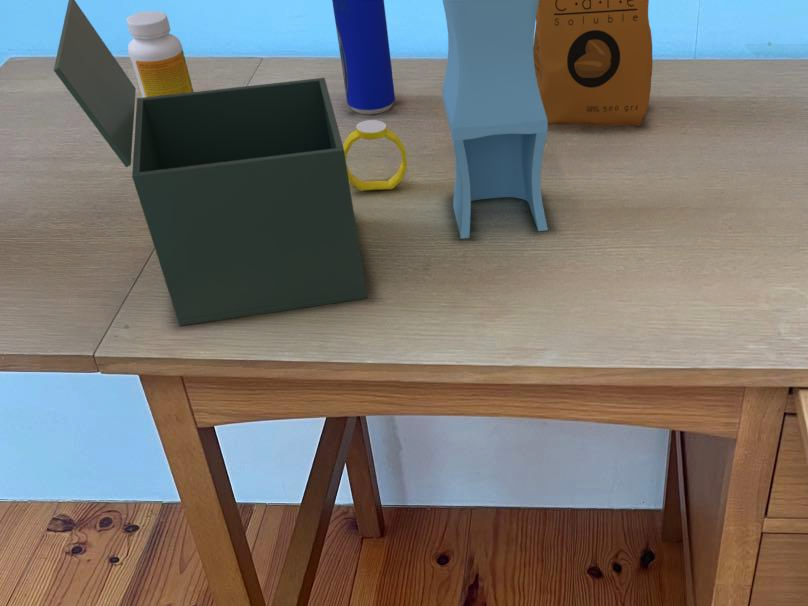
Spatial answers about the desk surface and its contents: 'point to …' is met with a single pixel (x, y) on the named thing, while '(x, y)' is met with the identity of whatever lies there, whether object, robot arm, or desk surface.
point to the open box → (247, 199)
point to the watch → (372, 132)
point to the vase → (494, 104)
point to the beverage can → (365, 54)
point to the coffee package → (593, 61)
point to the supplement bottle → (157, 56)
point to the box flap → (96, 81)
